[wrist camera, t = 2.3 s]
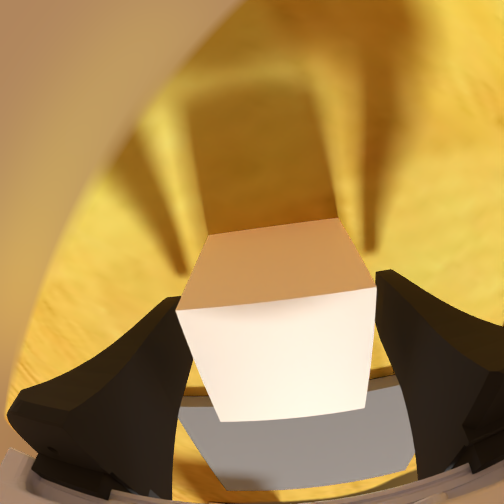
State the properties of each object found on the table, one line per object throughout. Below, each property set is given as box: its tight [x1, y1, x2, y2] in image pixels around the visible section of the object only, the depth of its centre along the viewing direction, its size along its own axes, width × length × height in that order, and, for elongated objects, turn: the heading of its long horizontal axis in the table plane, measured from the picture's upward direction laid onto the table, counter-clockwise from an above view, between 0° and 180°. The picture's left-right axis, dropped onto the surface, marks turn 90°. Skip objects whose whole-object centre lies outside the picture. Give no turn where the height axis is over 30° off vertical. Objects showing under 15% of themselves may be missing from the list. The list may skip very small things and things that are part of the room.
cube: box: [175, 218, 377, 422], centre depth 11 cm, size 5×5×5 cm
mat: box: [178, 375, 415, 491], centre depth 18 cm, size 16×14×1 cm
